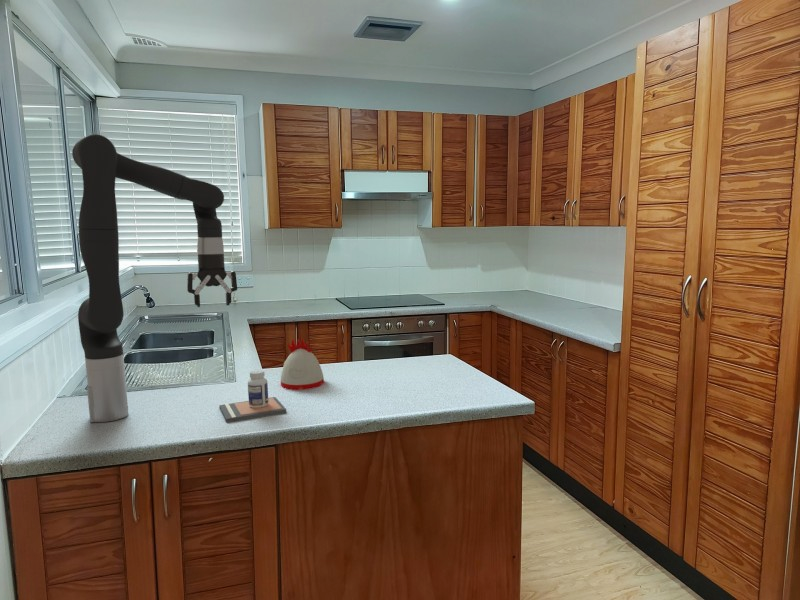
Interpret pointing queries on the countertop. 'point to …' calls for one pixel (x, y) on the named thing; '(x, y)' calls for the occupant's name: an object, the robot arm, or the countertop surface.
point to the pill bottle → (257, 389)
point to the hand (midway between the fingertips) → (213, 306)
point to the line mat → (250, 410)
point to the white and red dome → (301, 369)
